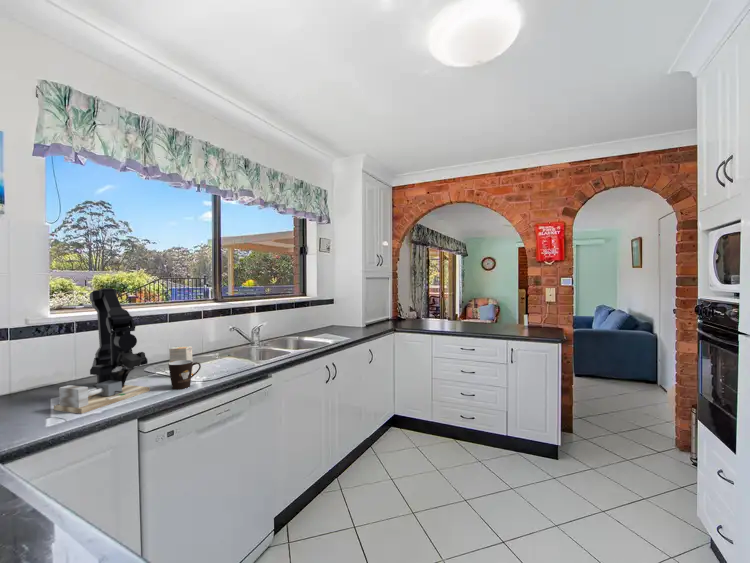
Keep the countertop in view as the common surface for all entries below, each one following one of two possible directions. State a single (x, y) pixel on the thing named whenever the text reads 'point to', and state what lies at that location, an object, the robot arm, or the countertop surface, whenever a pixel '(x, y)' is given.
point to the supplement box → (181, 354)
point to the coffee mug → (181, 373)
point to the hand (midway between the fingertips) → (121, 388)
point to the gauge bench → (92, 398)
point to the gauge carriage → (107, 388)
